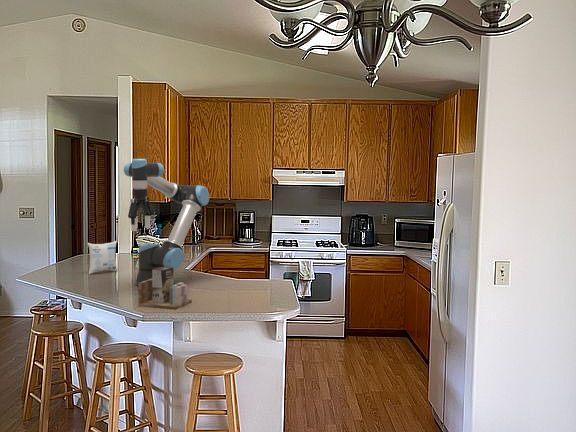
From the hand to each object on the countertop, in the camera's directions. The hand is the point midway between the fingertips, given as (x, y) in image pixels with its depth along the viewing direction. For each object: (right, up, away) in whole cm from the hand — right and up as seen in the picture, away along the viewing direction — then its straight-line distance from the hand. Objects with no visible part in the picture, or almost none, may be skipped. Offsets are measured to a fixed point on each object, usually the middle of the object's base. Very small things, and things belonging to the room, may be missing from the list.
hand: (141, 229), depth 287 cm
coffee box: (+16, -35, -18) cm, 42 cm away
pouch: (-41, -29, +61) cm, 79 cm away
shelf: (+17, -36, -19) cm, 44 cm away
